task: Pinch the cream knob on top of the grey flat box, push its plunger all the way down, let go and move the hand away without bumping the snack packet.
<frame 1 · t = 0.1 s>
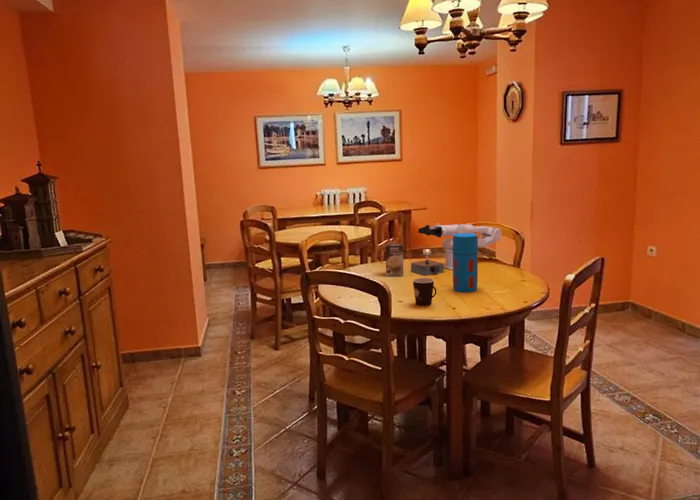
hand: (423, 231, 265), 22 cm above the table, tool horizontal, fingers open, 7 cm apart
grey flat box: (427, 272, 269), on the table
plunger: (427, 256, 268), point 8 cm above the table, slide at 3.5 cm
thermos: (465, 290, 233), on the table
coffee mug: (424, 305, 212), on the table
coffee box: (394, 275, 266), on the table
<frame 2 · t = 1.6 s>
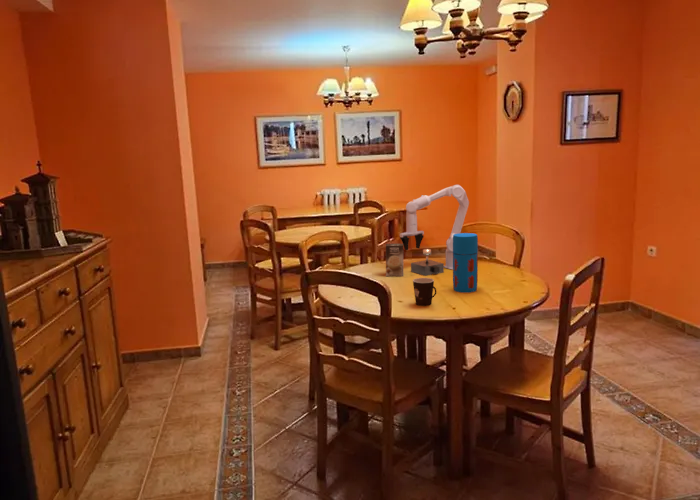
hand: (412, 249, 279), 10 cm above the table, tool pointing down, fingers open, 7 cm apart
nothing on the table moved.
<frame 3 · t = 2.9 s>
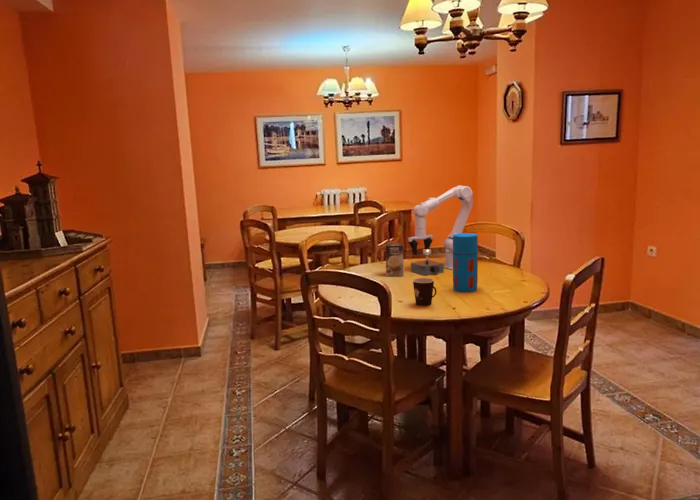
hand: (420, 253, 272), 9 cm above the table, tool pointing down, fingers open, 7 cm apart
nothing on the table moved.
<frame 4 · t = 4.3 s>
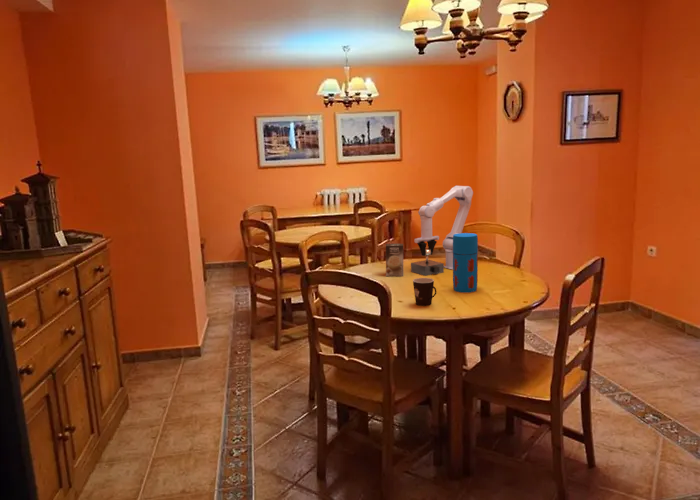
hand: (427, 255, 268), 9 cm above the table, tool pointing down, fingers closed on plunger, 4 cm apart
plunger: (427, 256, 268), point 8 cm above the table, slide at 3.5 cm, touching gripper
everything else where it was.
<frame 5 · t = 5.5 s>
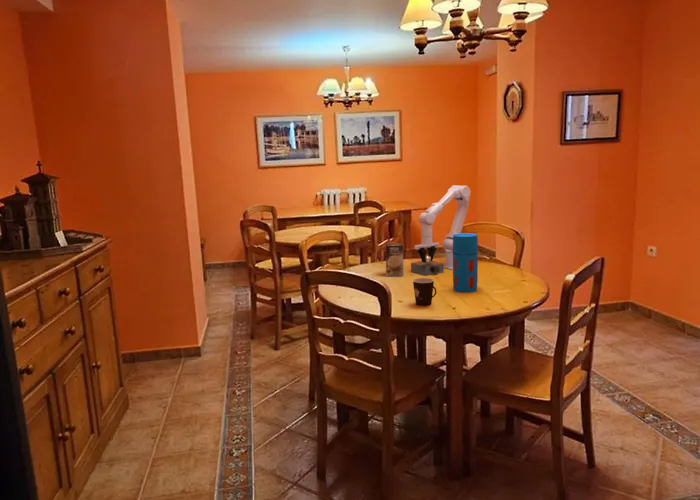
hand: (427, 261, 268), 6 cm above the table, tool pointing down, fingers closed on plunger, 4 cm apart
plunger: (427, 263, 269), point 5 cm above the table, slide at 0.0 cm, touching gripper
everything else where it was.
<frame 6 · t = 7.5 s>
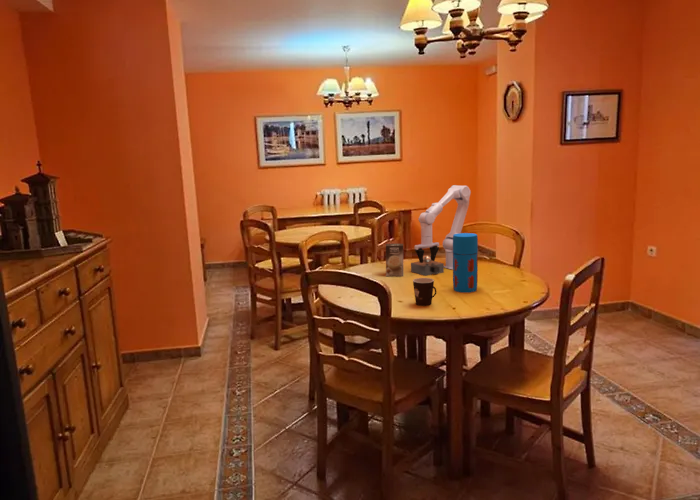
hand: (427, 261, 268), 6 cm above the table, tool pointing down, fingers open, 7 cm apart
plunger: (427, 263, 269), point 5 cm above the table, slide at 0.0 cm
everything else where it was.
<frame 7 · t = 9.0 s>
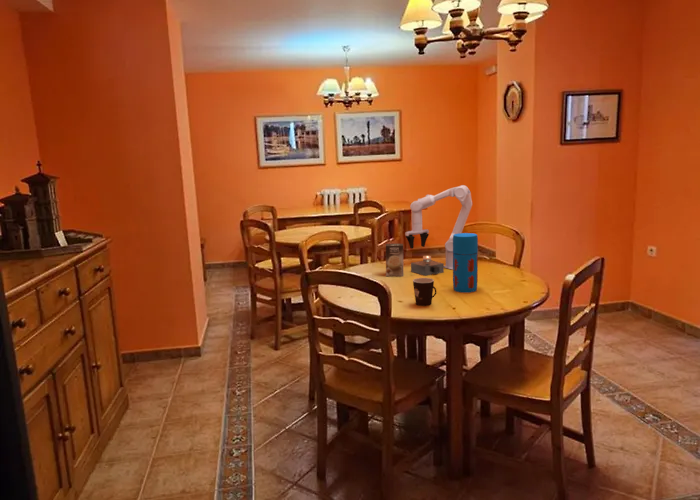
hand: (417, 247, 283), 10 cm above the table, tool pointing down, fingers open, 7 cm apart
nothing on the table moved.
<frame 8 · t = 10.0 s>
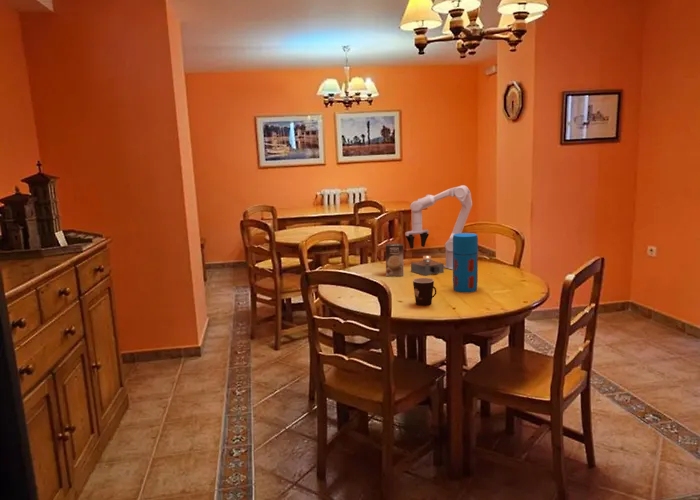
hand: (417, 247, 283), 10 cm above the table, tool pointing down, fingers open, 7 cm apart
nothing on the table moved.
at the end: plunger slide at 0.0 cm; the gripper is holding nothing; coffee box moved 0.2 cm from its start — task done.
